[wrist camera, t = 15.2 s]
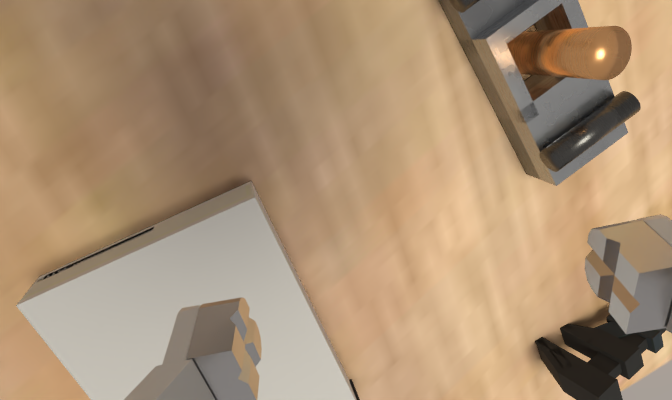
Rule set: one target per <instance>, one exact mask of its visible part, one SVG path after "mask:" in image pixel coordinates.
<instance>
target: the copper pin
mask: <svg viewBox="0 0 672 400" xmlns="http://www.w3.org/2000/svg"><path fill="white" fill-rule="evenodd" d="M507 46H508V48H509V51H510V53H511V55H512V57H513V59H514V61H515V64H516V66H517V68H518V70H519V72H520V74H530V75H543V76H556V77H569V78H582V79H596V80H609V79H612V78H614V77H616V76H618V75H619V74H620V73H621V72H622V71H623V70H624V68H625V67H626V65H627V63H628V61H629V59H630V56H631V49H632V47H631V40H630V37H629V35H628V33H627V32H626V31H625V30H624V29H623V28H621V27H618V26H605V27H590V28H574V29H558V30H542V31H526V32H522V33H521V34H519V35H518V36H517V37H515V38H514V39H512V40H511V41H510V42H508V43H507Z"/></svg>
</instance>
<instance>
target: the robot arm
mask: <svg viewBox="0 0 672 400" xmlns="http://www.w3.org/2000/svg"><path fill="white" fill-rule="evenodd" d="M588 244H589V245H590V246H591V247H592V249H593V250H592V251H591V252H590V253H589V254H588V255H587V256H586V259H585V272H586V276H587V280H588V282H589V284H590V286H591V288H592V290H593V291H594V293H595V294H596V295H597V297H599V298H601V299H603V300H605V301H607V302H609V303H610V306H609V313H610V314H611V315H612V317H613V318H614V319H615V321H616V322H617V323H618V324H619V326H620V327H621V328H622V330H623V331H624V332H625V334H631V333H637V332H644V331H650V330H657V329H663V328H667V329H666V330H667V331H669V332H671V333H672V220H670V219H669V218H668V217H666V216H664V215H661V214H660V215H655V216H650V217H646V218H641V219H637V220H633V221H628V222H623V223H618V224H613V225H608V226H603V227H598V228H593V229H592V230H591V231H590V233H589V236H588ZM249 310H250V308H249V306H248V304H247V301H246V299H245V298H242V297H241V298H235V299H229V300H223V301H217V302H212V303H206V304H202V305H197V306H191V307H185V308H182V309H181V310H180V311H179V312H178V314H177V317H176V321H175V324H174V327H173V330H172V334H171V337H170V340H169V344H168V347H167V350H166V354H165V357H164V360H163V363H162V365H158V366H155V368H154V369H153V370H152V371H151V372H150V373H149V374H148V375H147V376H146V377H145V378H144V379H143V380H142V381H141V382H140V383H139V384H138V385H137V386H136V387H135V388H134V389H133V391H132V392H131V393H130V394H129V395H128V396H127V397H126V398H125V399H124V400H257V398H258V388H259V377H260V376H259V374H258V372H257V369H256V366H257V364H258V363H259V362H260V360H261V352H262V347H261V337H260V333H259V329H258V326H257V324H256V322H255V321H254V320H253V319H251V318H249Z"/></svg>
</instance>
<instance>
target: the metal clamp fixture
mask: <svg viewBox="0 0 672 400" xmlns="http://www.w3.org/2000/svg"><path fill="white" fill-rule="evenodd" d="M439 2H440V4H441V6H442V8H443V10H444V12H445V14H446V16H447V18H448V20H449V22H450V24H451V26H452V28H453V30H454V32H455V34H456V36H457V38H458V39H459V41H460V43H461V45H462V47H463V49H464V51H465V53H466V55H467V57H468V59H469V61H470V63H471V65H472V67H473V69H474V71H475V73H476V75H477V77H478V79H479V81H480V83H481V85H482V87H483V89H484V91H485V93H486V95H487V97H488V99H489V101H490V103H491V105H492V107H493V109H494V111H495V113H496V115H497V117H498V119H499V121H500V123H501V125H502V127H503V129H504V131H505V133H506V134H507V136H508V138H509V140H510V142H511V144H512V146H513V148H514V150H515V152H516V154H517V156H518V158H519V160H520V162H521V164H522V166H523V168H524V170H525V172H526V174H528V175H531V176H533V177H536V178H538V179H541V180H543V181H546V182H548V183H551V184H553V185H556V186H557V185H558V184H560V183H561V182H562V181H564V180H565V179H566V178H568V177H569V176H570V175H572V174H573V173H574V172H576V171H577V170H578V169H580V168H581V167H582V166H584V165H585V164H586V163H588V162H589V161H591V160H592V159H593V158H595V157H596V156H597V155H599V154H600V153H601V152H603V151H604V150H605V149H607V148H608V147H609V146H611V145H612V144H613V143H615V142H616V141H617V140H619V139H620V138H622V137H623V136H624V135H626V134H627V133H628V131H627V128H626V126H625V123H624V122H625V121H626V120H628V119H629V118H631V117H632V116H633V115H635V114H636V113H637V112H639V110H640V103H639V101H638V99H637V98H636V97H635V96H634V95H632V94H631V93H629V92H625V91H623V92H620V93H619V94H618V95H616V96H615V97H614V94H613V91H612V89H611V86H610V83H609V81H608V80H596V79H582V78H569V77H556V76H543V75H532V76H531V77H529V78H528V79H527V80H525V81H523V79H522V77H521V74H520V72H519V70H518V68H517V66H516V64H515V61H514V59H513V57H512V55H511V53H510V51H509V48H508V46H507V43H508V42H510V41H511V40H512V39H514V38H515V37H517V36H518V35H519V34H521V33H522V32H523V31H525V30H526V29H527V28H529V27H530V26H532V25H533V24H535V26H536V29H537V31H542V30H558V29H574V28H588V26H587V23H586V20H585V18H584V15H583V12H582V10H581V7H580V4H579V2H578V0H439Z"/></svg>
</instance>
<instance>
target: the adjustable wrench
mask: <svg viewBox="0 0 672 400" xmlns="http://www.w3.org/2000/svg"><path fill="white" fill-rule="evenodd" d="M607 322H608V323H605V324H603V325H600V326H598V327H595V328H589V327H583V326H577V325H571V324H567V325H565V326H563V327H561V328H560V330H561V333H562V336H563V339H564V343H565V344H566V345H567V346H569V347H571V348H573V349H575V350H576V351H578V352H580V353H582V354H584V355H585V356H587V357H589V358H591V360H590V361H588V362H585V361H583V360H582V359H580V358H578V357H576V356H574V355H573V354H571V353H569V352H567V351H566V350H564V349H562V348H560V347H559V346H557V345H555V344H553V343H552V342H550V341H548V340H546V339H544V338H543V337H541V338H539V339H538V340H536V341H535V342H536V345H537V348H538V350H539V353H540V356H541V359H542V361H543V362H544V364H545V365H546V367H547V368H548V369H549V371H550V372H551V374H552V375H553V377H554V378H555V380H556V381H557V382H558V384H559V385H560V387H561V388H562V390H563V391H564V392H565V393H567V394H568V395H570V396H572V397H573V398H575V399H576V400H623V399H622V396H621V392H620V388H619V384H618V380H617V379H615V378H616V377H617V376H618V375H619V374H620V375H622V376H623V377H625V378H627V379H630V378H631V377H632V376H634V375H635V374H636V373H637V372H638V371H639V370H640V369H641V368H642V367H643V366H644V365H643V360H642V356H641V354H642V353H643V352H644V351H645V350H646V349H648V350H650V351H652V352H654V353H657V352H658V351H659V350H660V349H661V348H662V347H663V341H662V336H661V335H662V334H663V333H664V332H665V331H666V329H667V328H663V329H657V330H650V331H644V332H637V333H631V334H625V332H624V331H623V330H622V328H621V327H620V326H619V324H618V323H617V322H616V321H615V319H614V318H613V317H612V315H611V314H610V315H609V316H608V317H607Z"/></svg>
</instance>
